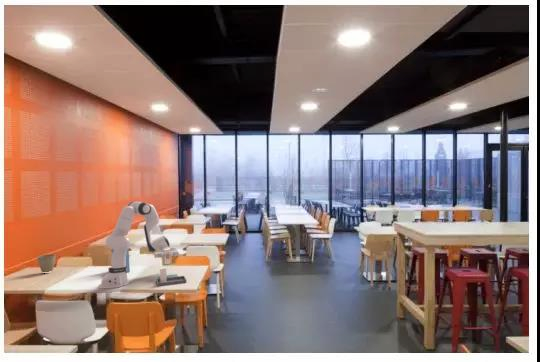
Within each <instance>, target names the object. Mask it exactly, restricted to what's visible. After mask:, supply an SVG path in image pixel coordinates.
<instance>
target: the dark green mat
mask: <svg viewBox="0 0 540 362" xmlns="http://www.w3.org/2000/svg"><path fill="white" fill-rule="evenodd" d="M178 276H179V275H178V274H166V277H167V278H170V277H178ZM157 279H160V275H158V276H157Z"/></svg>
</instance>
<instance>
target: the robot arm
mask: <svg viewBox="0 0 540 362" xmlns="http://www.w3.org/2000/svg"><path fill="white" fill-rule="evenodd" d="M137 215H138V216H143V217H144V219H145V220H144V221H145V224H144V225H143V229H144V235H145V239H146V240H145V241H146V248H147V250H148V252H150V253H153V256H154V258H155V259H157V258H158V259H159V258H164V257H165V255H164V249H169V248H170V258H171V257H177V256H179V255H180V251H179V250H178V249H177V248H173V247H170V242H169V240H168V237H166V236H165V235H162V236H159V237H157V238H155V239H152V238H151V231H152V230H153V229H154V228H155V227H156V226H158V224H159V222H160V216H159V214H158V211H157V209H156V208H155V206H154V205H153V204H149V202H144V201H143V202H142V201H140V200H139V201H131V202H130V203H128V204H127V205H125V206H124V207H123V208H122V210H121V212H120V214H119V217H118V219H117V222H116V224H115V227H114V229H113V230H112V232H111V233H110V234H109V235H108V236H107V237H106V239H105V246H107V247H108V248H109V249H114V252H113V256H112V255H111V258H110V263H111V264H110V266H109V267H107V270H108V273H107V274H106V275H105V276H103V277H102V279H101V282H100V284H98V287H99V288H98V287H97V288H98V289H100V290H101V289H102V290H103V289H113V288H122V287H123V286H126V285H129V284H130V282H129V278H128V274H127V273H128V272H127V266H126V253H127V249H128V248H129V249H130V246H131V240H130V239H129V238H128V237H126V235H127V233H128V232H130V230H131V227H132V225H133V222H134V217H135V216H137ZM158 250H159V251H158ZM156 251H157V252H156Z"/></svg>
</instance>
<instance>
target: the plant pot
mask: <svg viewBox="0 0 540 362" xmlns="http://www.w3.org/2000/svg"><path fill="white" fill-rule="evenodd" d="M56 257H57V255H56V254H55V253H53V254H52V253H51V254H50V253H49V254H48V253H47V254H43V255H42V254H41V255H38V256H37V263H38V265H39V266H38V267H40V268H39V269H40V271H41V273H42V272H49V271H52V272H53V270H54V267H55V263H56V259H57V258H56Z"/></svg>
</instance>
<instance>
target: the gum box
mask: <svg viewBox="0 0 540 362" xmlns="http://www.w3.org/2000/svg"><path fill="white" fill-rule="evenodd" d="M110 249H111V248H110ZM129 249H130V247H129V248H128V249H127V253H126V266H127V273H129V272H130V271H131V268H130V251H129ZM110 251H111V257H112V256H113V252H114V249H111V250H110Z"/></svg>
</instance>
